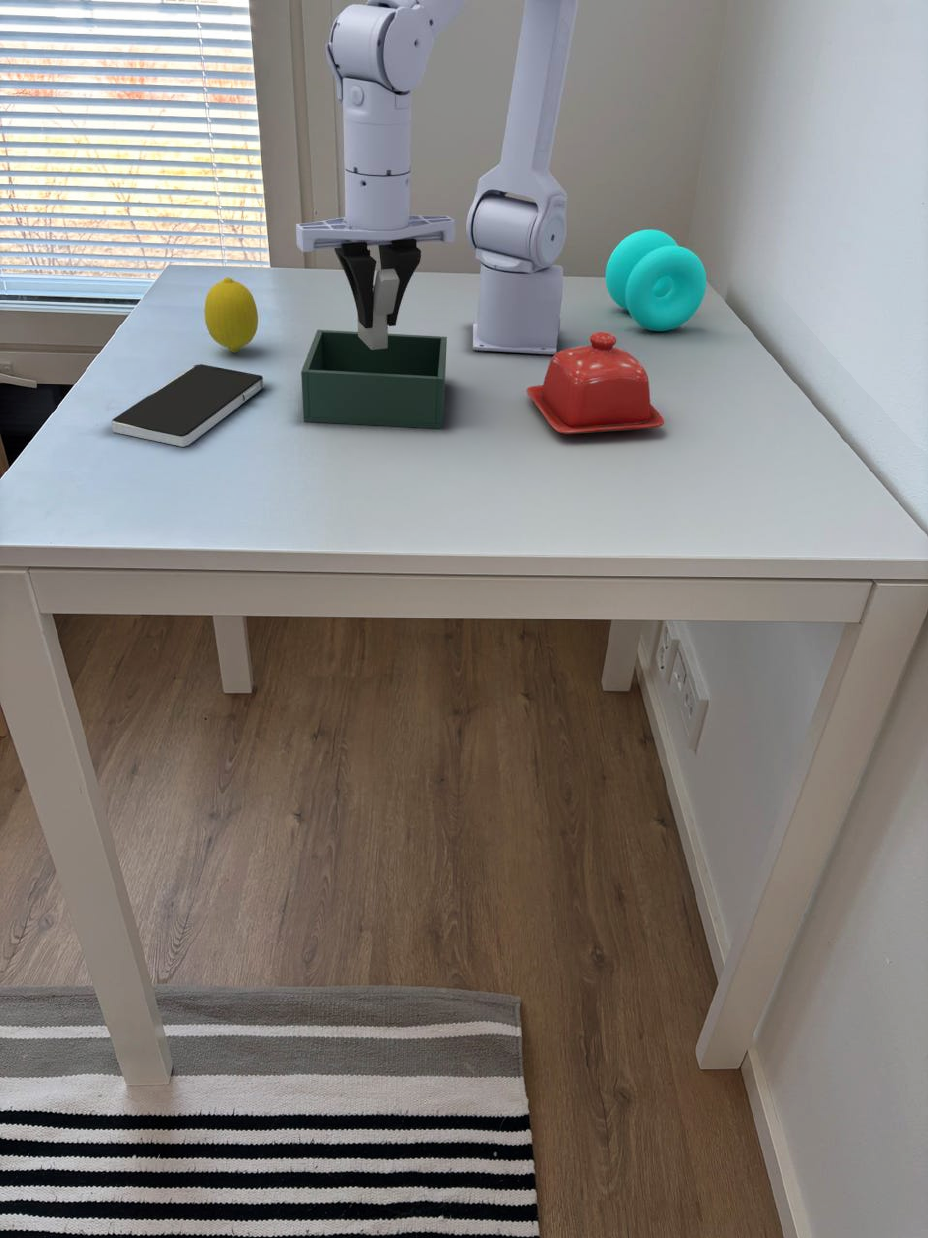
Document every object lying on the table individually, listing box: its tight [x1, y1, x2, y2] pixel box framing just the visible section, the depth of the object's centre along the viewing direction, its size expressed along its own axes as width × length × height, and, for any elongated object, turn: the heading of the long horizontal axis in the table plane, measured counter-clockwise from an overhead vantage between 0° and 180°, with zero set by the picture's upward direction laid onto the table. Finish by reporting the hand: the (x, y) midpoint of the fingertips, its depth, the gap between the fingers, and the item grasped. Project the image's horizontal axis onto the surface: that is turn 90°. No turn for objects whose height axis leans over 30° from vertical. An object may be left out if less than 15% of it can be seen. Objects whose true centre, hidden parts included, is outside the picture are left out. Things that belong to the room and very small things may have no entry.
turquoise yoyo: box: [605, 229, 707, 332], centre depth 117 cm, size 10×10×10 cm
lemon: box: [203, 277, 259, 353], centre depth 102 cm, size 6×6×8 cm
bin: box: [300, 329, 448, 430], centre depth 94 cm, size 13×11×5 cm
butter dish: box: [525, 331, 666, 435], centre depth 93 cm, size 12×12×8 cm
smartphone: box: [111, 363, 265, 448], centre depth 92 cm, size 8×1×15 cm
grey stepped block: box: [357, 269, 400, 350], centre depth 90 cm, size 7×2×8 cm, turn 24°
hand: (377, 323), depth 91 cm, fingers closed on grey stepped block, 2 cm apart
